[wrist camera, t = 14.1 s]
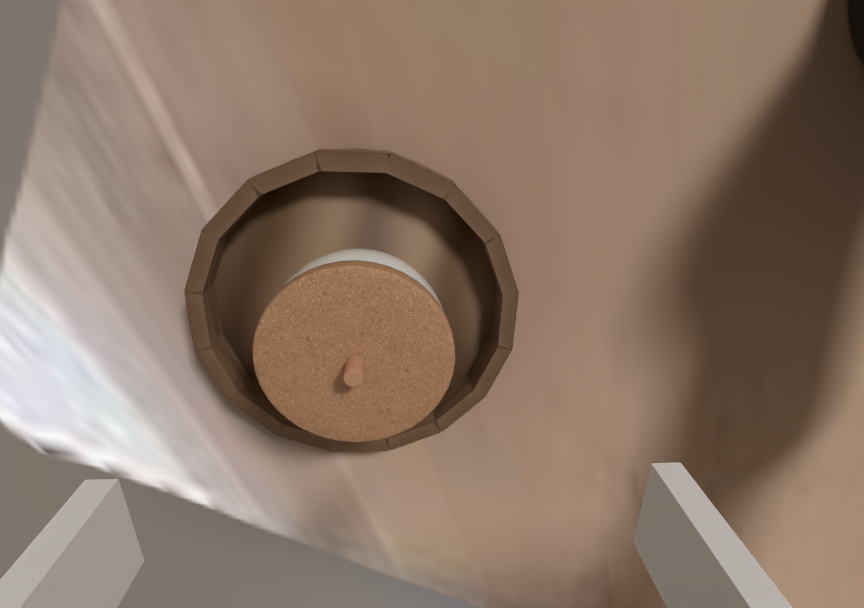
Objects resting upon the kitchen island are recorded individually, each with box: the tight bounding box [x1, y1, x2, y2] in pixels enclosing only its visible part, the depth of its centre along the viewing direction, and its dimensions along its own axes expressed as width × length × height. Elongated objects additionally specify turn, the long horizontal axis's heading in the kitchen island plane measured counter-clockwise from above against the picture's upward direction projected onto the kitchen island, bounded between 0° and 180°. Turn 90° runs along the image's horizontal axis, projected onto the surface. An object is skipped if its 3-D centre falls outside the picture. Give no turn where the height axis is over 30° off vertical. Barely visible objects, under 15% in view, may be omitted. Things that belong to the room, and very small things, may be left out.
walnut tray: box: [185, 149, 519, 452], centre depth 32 cm, size 21×21×3 cm
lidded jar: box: [253, 248, 455, 442], centre depth 28 cm, size 11×11×9 cm
